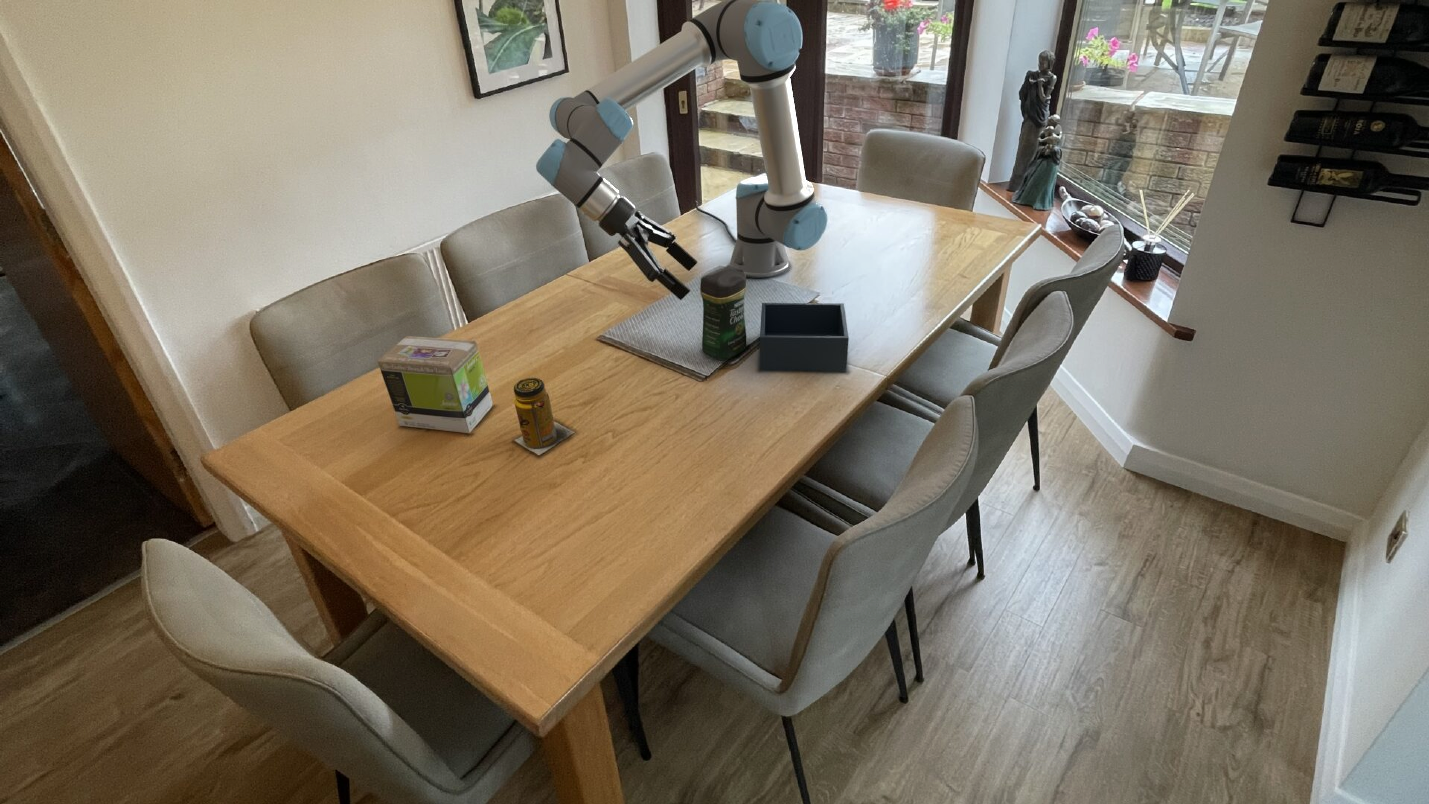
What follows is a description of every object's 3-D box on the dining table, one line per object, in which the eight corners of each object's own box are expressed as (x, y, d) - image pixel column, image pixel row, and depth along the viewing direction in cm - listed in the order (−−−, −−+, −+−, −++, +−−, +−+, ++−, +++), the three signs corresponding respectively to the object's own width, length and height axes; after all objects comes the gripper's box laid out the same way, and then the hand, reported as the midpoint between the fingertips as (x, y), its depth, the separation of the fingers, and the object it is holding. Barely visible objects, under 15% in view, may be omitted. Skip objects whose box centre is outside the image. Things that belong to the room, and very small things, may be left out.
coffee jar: (724, 365, 152) (721, 284, 142) (696, 353, 157) (692, 274, 146) (753, 347, 158) (753, 268, 148) (726, 336, 163) (724, 258, 152)
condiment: (513, 441, 133) (500, 386, 126) (550, 419, 138) (539, 365, 132) (539, 456, 129) (526, 400, 122) (575, 433, 135) (565, 378, 128)
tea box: (494, 405, 143) (478, 339, 135) (469, 435, 135) (450, 367, 127) (426, 397, 146) (406, 333, 138) (397, 427, 138) (374, 360, 130)
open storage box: (761, 335, 162) (761, 302, 158) (841, 335, 161) (843, 303, 156) (759, 371, 150) (759, 337, 146) (846, 372, 149) (848, 338, 144)
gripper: (609, 200, 153) (684, 267, 161) (582, 247, 133) (669, 320, 140) (632, 175, 150) (707, 244, 157) (607, 218, 129) (695, 296, 137)
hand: (689, 280), depth 149 cm, fingers open, 13 cm apart
